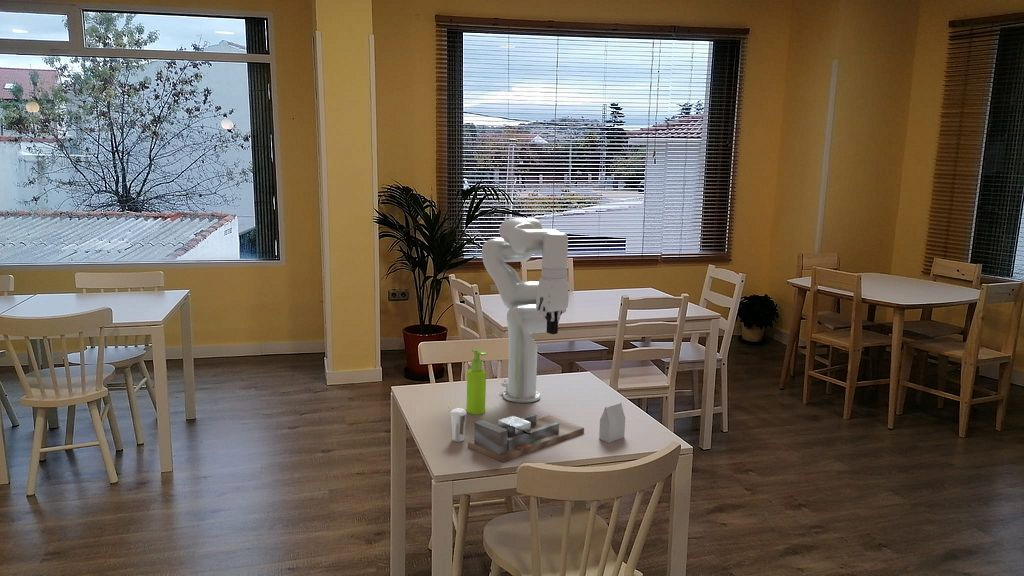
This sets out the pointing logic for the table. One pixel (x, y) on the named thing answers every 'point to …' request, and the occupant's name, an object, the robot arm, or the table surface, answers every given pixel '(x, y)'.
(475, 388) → the soap dispenser
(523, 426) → the slider
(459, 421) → the milkshake
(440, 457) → the table surface
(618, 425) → the tea bag
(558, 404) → the table surface
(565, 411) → the table surface
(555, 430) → the gauge bench
